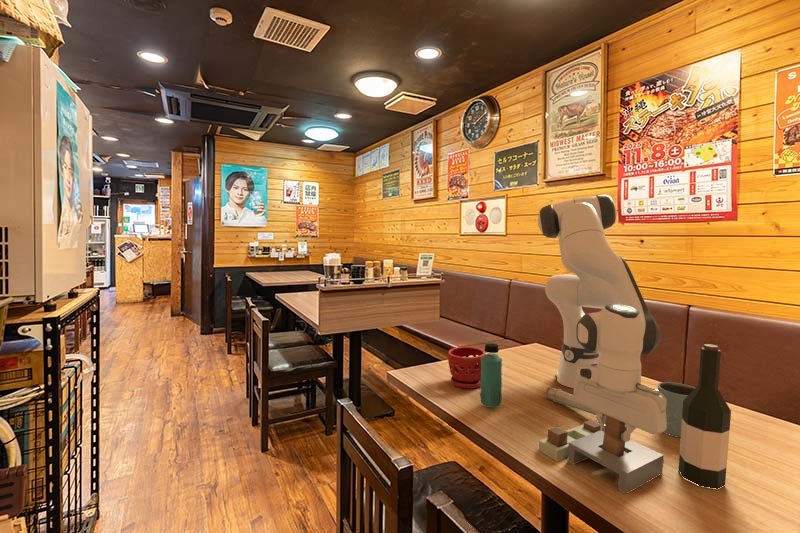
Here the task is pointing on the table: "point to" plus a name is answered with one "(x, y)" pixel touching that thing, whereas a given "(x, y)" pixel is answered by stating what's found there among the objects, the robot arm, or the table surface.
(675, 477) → the table surface
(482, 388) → the beverage bottle
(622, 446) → the pin long
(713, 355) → the wine bottle
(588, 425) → the pin short
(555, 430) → the pin medium
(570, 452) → the hole bridge
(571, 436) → the peg rack
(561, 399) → the beige long piece
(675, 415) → the grey cup
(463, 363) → the plant pot
